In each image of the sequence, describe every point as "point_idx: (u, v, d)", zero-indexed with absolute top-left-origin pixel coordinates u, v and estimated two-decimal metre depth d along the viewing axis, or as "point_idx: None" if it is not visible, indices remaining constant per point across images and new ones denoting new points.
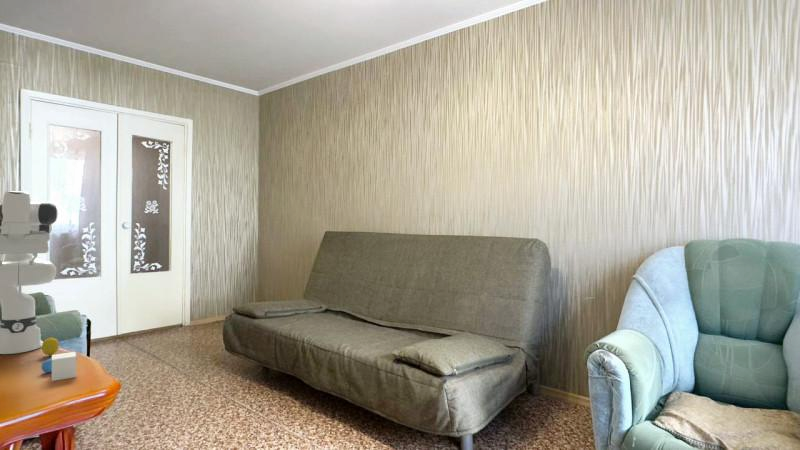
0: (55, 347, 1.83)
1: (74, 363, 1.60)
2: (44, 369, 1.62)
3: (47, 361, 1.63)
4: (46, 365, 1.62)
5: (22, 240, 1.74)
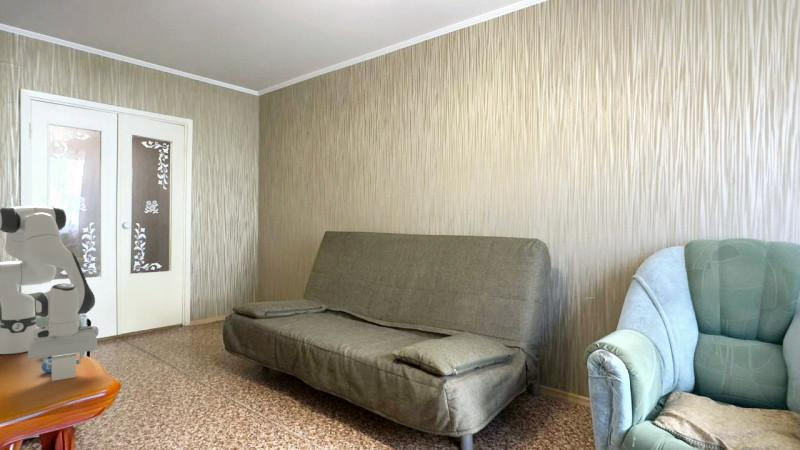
0: None
1: (74, 363, 1.60)
2: (44, 369, 1.62)
3: None
4: (46, 365, 1.62)
5: (70, 339, 1.61)
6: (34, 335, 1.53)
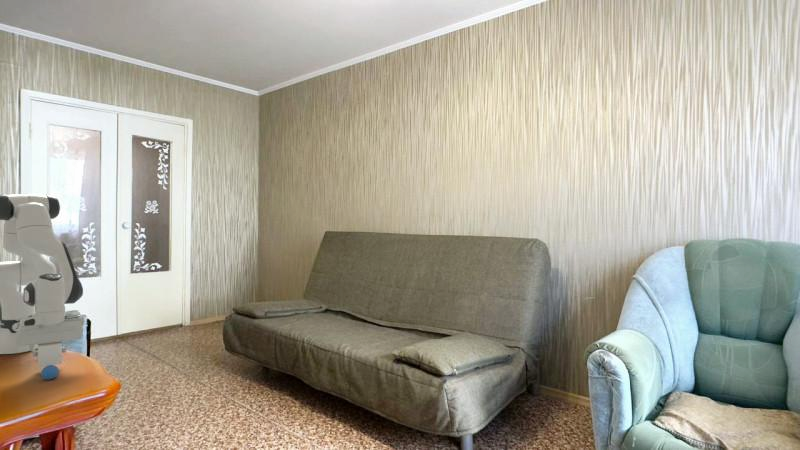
0: None
1: (60, 350, 1.65)
2: None
3: None
4: None
5: (56, 328, 1.65)
6: (21, 323, 1.57)
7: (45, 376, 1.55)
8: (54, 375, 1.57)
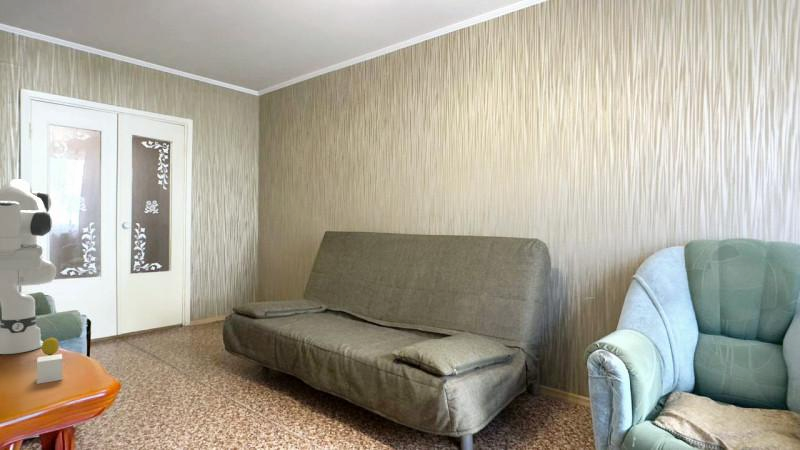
0: (55, 347, 1.83)
1: (60, 365, 1.57)
2: None
3: None
4: None
5: (12, 255, 1.61)
6: None
7: None
8: None
